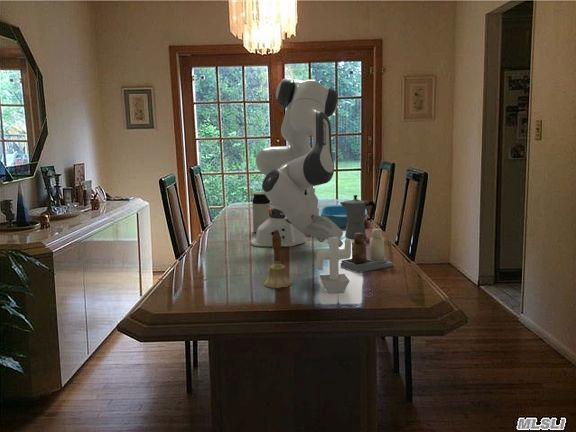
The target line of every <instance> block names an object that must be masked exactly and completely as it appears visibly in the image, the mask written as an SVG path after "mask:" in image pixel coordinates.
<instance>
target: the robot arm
mask: <svg viewBox="0 0 576 432" xmlns="http://www.w3.org/2000/svg"><path fill="white" fill-rule="evenodd" d="M275 99H276V102H277V104H278V105H279V106H280V107H282V108H284V109H285V113H284V117H283V119H282V122H281V127H280V134H281V137H282V138H283V139H284V140H285V141H286V142H288V144H287V145H285V146H284V145H283V146H282V145H281V146H268V147H264V148H261V149H259V151H258V153H257V154H256V157H255V165H256V168H257V170H259V172H260V173H261V174H263V175H264V176H265V177H264V178H263V181H262V183H261V190H262V192H264V193H265V195H266V196H267V198H268V199H269V200H270V204H272V205H273V208H271V207H270V208H269V209H268V213H269V217H270V218H269V219H267V220H266V221H265V222H264V223H262V224H261V225H260V226H259V227H258V229H257V232H255V237H253V238H252V239H251V240H250V244H251V246H254V247H273V245H272V237H273V234H274V230H278V231H279V234H280V237H281V247H293V246H296V245H301V244H305V243H306V242H307V240H306V237H305V235H308V236H311V237H313V238H315V239H316V240H317V241H318V242H319V243H324V242H325V240H327V241H328V238H329V237H338V238H339V244H338V246H339V248H341V247H342V246H343V245H344V243H343V241H342V240H341V238H342V237H343V234H344V233H343V229H342V228H339V227H338V226H337V225H336V224H335V223H334V222H332V221H331V220H330V219H328V218H326V217H322V216H321V215H319V212H320V209H319V207H318V206H316V205H315V204H314V203H313V202H312V201H311V200H310V199H309V198H308V197H307V196H306V195H307V194H305V193H306V191H307V189H308V188H315V187H316V186H317V187H318V186H320V185H325V184H328V183H330V181H331V180H332V178H333V175H334V174H335V173H334V172H335V163H334V159H333V149H332V125H331V121H330V117H331V116H333V115H334V113H335V112H336V110H337V109H338V106H339V94H338V92H337V90H335V89H334V88H332V87H330V86H329V87H327V86H326V85H323V84H322V83H321V82H319V81H317V80H315V79H307V80H303V79H295V78H294V77H284V78H283V79H281V81H280V82H279V83H278V85H277V88H276V90H275ZM309 137H312V147H311V146H310V143H309V140H310V139H309Z"/></svg>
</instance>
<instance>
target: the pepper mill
mask: <svg viewBox="0 0 576 432" xmlns="http://www.w3.org/2000/svg"><path fill="white" fill-rule="evenodd" d="M364 239H365V238H364V233H354V239H353V241H351V259H352V263H354V264H363V263H366V258H367V242H366V241H364Z"/></svg>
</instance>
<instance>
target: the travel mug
mask: <svg viewBox="0 0 576 432" xmlns="http://www.w3.org/2000/svg"><path fill="white" fill-rule="evenodd" d="M252 194H253V198H252V199H251V200H252V227H253V228H252V229H253V232H254V233H256V232H257V229H258V227H259V226H260V225H261V224H262V223H264V222H265V221H266V220H267V219H269V218H270V217H269V213H268V209H269V208H271V202H270V200H269V199H268V198H267V196H266V195H265V193H264V192H263V191H255V192H254V191H253V192H252Z"/></svg>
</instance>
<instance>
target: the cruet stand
mask: <svg viewBox="0 0 576 432" xmlns="http://www.w3.org/2000/svg"><path fill="white" fill-rule="evenodd" d="M382 231H383V230H382V228H372V231H371V236H372V237H369V257H366V263H363V264H354V263H352V258H348V259H341V262H340V267H341V268H344V269H346V270H349V271H352V272H355V273H360V272H361V273H362V272H368V271H374V270H378V269H384V268H390V267H393V266H394V262H393V261H389V260H387V258H385V237H383V236H382V235H383V234H382Z"/></svg>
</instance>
